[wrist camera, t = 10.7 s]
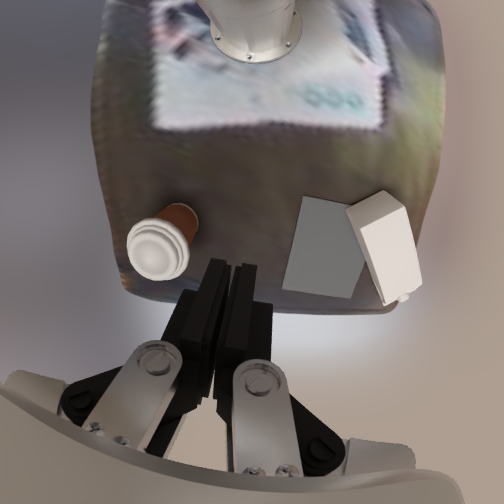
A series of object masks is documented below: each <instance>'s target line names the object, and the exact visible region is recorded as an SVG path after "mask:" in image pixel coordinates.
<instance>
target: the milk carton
mask: <svg viewBox="0 0 504 504" xmlns="http://www.w3.org/2000/svg"><path fill="white" fill-rule="evenodd" d="M346 213H347V215H348V217H349V220H350V222H351V225H352V227H353V229H354V232H355V234H356V237H357V239H358V242H359V244H360V247H361V249H362V252H363V255H364V257H365V260H366V263H367V265H368V268H369V271H370V274H371V276H372V279H373V282H374V284H375V286H376V288H377V291H378V293H379V295H380V297H381V300H382V302H383V305H384V306H385V305H387V304H389V303H391V302H393V301H395V300H397V299H398V301H399V302H400V303H401V302H403V301H406V300H407V299H409V298H410V296H409V293H410V292H412V291H414V290H416V289H417V287H419V286H420V285H422V278H421V272H420V267H419V262H418V257H417V252H416V248H415V243H414V239H413V235H412V231H411V227H410V223H409V219H408V216H407V212H406V209H405V206H404V205H403V204H401V203H400V202H399V201H398V200H396V199H395V198H394V197H392V196H391V195H390V194H388V193H387V192H386V191H384V190H383V191H381V192H378V193H377V194H375V195H373V196H371V197H369V198H367V199H365V200H363V201H361V202H359V203H357V204H355V205H353V206H351V207H349V208H347V209H346Z"/></svg>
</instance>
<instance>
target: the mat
mask: <svg viewBox="0 0 504 504" xmlns="http://www.w3.org/2000/svg"><path fill="white" fill-rule="evenodd" d="M351 206H353V205H349V204H345V203H340V202H335V201H331V200H326V199H321V198H316V197H311V196H306V195H303V197H302V202H301V206H300V211H299V215H298V220H297V224H296V229H295V233H294V238H293V242H292V246H291V250H290V255H289V259H288V263H287V267H286V271H285V275H284V280H283V284H282V289H286V290H292V291H299V292H306V293H313V294H320V295H328V296H335V297H343V298H351V295H352V293H353V290H354V288H355V286H356V283H357V281H358V278H359V276H360V273H361V270H362V268H363V265H364V263H365V257H364V255H363V252H362V249H361V247H360V244H359V242H358V239H357V237H356V234H355V232H354V229H353V227H352V225H351V222H350V220H349V217H348V215H347V213H346V209H347V208H349V207H351Z"/></svg>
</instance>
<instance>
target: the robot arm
mask: <svg viewBox="0 0 504 504" xmlns="http://www.w3.org/2000/svg"><path fill="white" fill-rule="evenodd" d="M195 1H196V2H197V3H198V5H199V6H200V7H201V8H202V10H203V11H204V12H205V13H206V15H207V16H208V17H209V19H210V20H211V22H210V33H211V37H212V39H213V42H214V43H215V45H216V46H217V47H218V49H219V50H220V51H221V52H223V53H224V54H225V55H227V56H228V57H230V58H232V59H234V60H237V61H240V62H243V63H250V64H261V63H267V62H271V61H274V60H277V59H279V58H281V57H283V56H285V55H286V54H288V53H289V52H290V51H291V50H292V49H293V48H294V47H295V46H296V44H297V42H298V41H299V39H300V36H301V32H302V20H301V17H300V14H299V13H298V11H297V9H296V8H295V7H294V6H295V0H195ZM293 14H294V16H293ZM218 38H221V39H220V40H219V41H218ZM286 45H289V46H290V47H286ZM249 57H252V59H251V60H249V59H248V58H249ZM256 271H257V265H252V264H246V263H242V267H240V266H236V268H235V272H234V276H233V280H232V284H231V288H230V292H229V284H230V275H231V265H227V264H226V260H221V259H215V258H211V260H210V262H209V265H208V267H207V270H206V272H205V275H204V277H203V279H202V282H201V284H200V287H199V289H198V291H194V290H189V289H184V290H183V292H182V294H181V296H180V298H179V300H178V302H177V305H176V307H175V309H174V311H173V314H172V315H171V318H170V320H169V322H168V325H167V327H166V329H165V331H164V333H163V336H162V338H161V340H153V341H148V342H145V343H143V344H141V345H139V346H138V347H137V348H136V349H135V350H134V352H133V353H132V355H131V356H130V357H129V359H128V360H127V361H126V363H125V364H124V365H123V366H120V367H117V368H115V369H112V370H109V371H106V372H104V373H101V374H98V375H95V376H92V377H89V378H86V379H83V380H80V381H77V382H74V383H73V384H66V382H65V381H63V380H59V379H54V378H50V377H46V376H42V375H38V374H35V373H31V372H27V371H24V370H17V371H14V372H12V373H11V374H10V375H9V376H8V378H7V380H6V382H5V384H3V383H1V382H0V504H465V503H464V499H463V496H462V493H461V490H460V488H459V486H458V484H457V483H456V481H455V480H454V479H453V478H451V477H450V476H448V475H446V474H443V473H441V472H437V471H432V470H425V469H415V464H416V460H415V454H414V453H413V451H412V449H410V448H409V447H408V446H406V445H403V444H394V443H385V442H375V441H368V440H361V439H355V438H350V439H349V440H346V439H341V438H340V437H339V436H338V435H337V434H336V433H335V432H334V431H332V430H331V429H330V428H329V427H327V426H326V425H325V424H324V423H322V421H320V420H319V419H318V418H317V417H316V416H314V415H313V414H312V413H311V412H310V411H309V410H308V409H306V408H305V407H304V406H303V405H302V404H301V403H300V402H298V401H297V400H296V399H295V398H294V397H293V396H292V395H291V394H290V393H289V390H288V385H287V379H286V377H285V374H284V372H283V371H282V370H281V369H280V368H279V367H278V366H277V365H275V364H274V363H272V362H271V343H272V316H273V304H271V303H264V302H258V301H253V295H254V287H255V279H256ZM228 293H229V296H228ZM214 370H215V373H214ZM213 374H214V389H213V399H217V410H216V412H217V413H218V415H219V416H220V417H221V418H222V419H223V420H224V421H225V423H226V424H225V433H226V434H225V436H226V468H227V469H226V472H225V471H219V470H213V469H207V468H202V467H197V466H192V465H188V464H183V463H179V462H175V461H171V460H167V457H168V455H169V453H170V451H171V449H172V446H173V445H174V442H175V440H176V438H177V436H178V434H179V432H180V429H181V427H182V425H183V423H184V421H185V418H186V416H187V413H188V412H190V411H192V410H194V409H196V408H197V405H198V404H199V405H201V401H202V397H206V398H208V396H209V392H210V388H211V383H212V378H213Z"/></svg>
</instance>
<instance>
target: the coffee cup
mask: <svg viewBox="0 0 504 504" xmlns="http://www.w3.org/2000/svg"><path fill="white" fill-rule="evenodd" d="M198 225H199V223H198V217H197V215H196V213H195V212H194V210H193V209H192V208H190V207H189V206H188V205H185V204H182V203H173V204H171V205H169V206H168V207H166V208H165V209H164V210H162V211H161V212H159V213H158V214H157V215H155V216H154V217H152V218H146V219H143V220H142V221H140V222H138V223H137V224H135V225H134V226H133V228H132V229H131V231H130V233H129V234H128V239H127V250H128V256H129V259H130V262H131V264H132V265H133V267H134V268H135V270H136V271H137V272H139V273H140V274H141V275H143V276H144V277H146V278H149V279H151V280H170V279H172V278H175V277H177V276H179V275H180V274H181V273H182V272H183V271H184V270H185V269H186V267H187V265H188V261H189V257H190V251H189V248H190V246H191V243H192V241H193V238H194V236H195V233H196V232H197V229H198Z"/></svg>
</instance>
